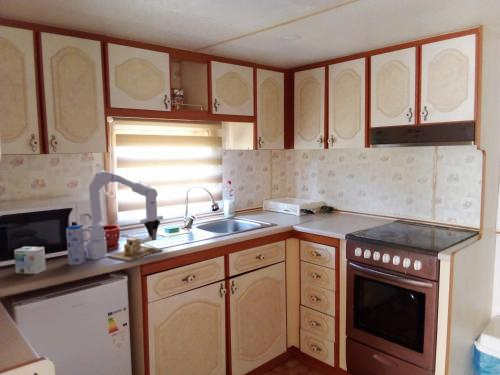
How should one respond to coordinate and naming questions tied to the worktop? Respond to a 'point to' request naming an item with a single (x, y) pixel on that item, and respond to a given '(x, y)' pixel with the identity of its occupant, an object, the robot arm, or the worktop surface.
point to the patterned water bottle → (75, 244)
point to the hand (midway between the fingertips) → (152, 234)
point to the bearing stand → (138, 251)
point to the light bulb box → (30, 260)
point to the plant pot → (112, 236)
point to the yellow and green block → (150, 238)
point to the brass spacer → (128, 251)
